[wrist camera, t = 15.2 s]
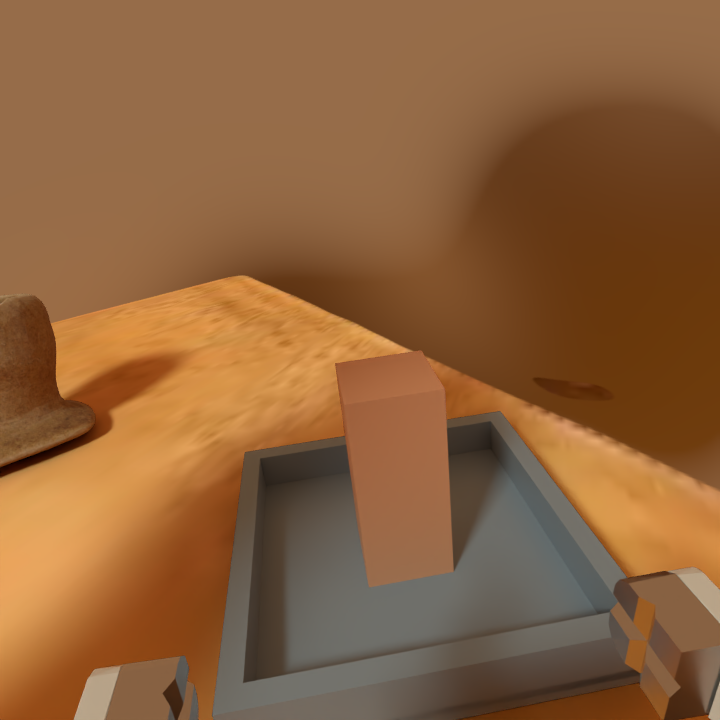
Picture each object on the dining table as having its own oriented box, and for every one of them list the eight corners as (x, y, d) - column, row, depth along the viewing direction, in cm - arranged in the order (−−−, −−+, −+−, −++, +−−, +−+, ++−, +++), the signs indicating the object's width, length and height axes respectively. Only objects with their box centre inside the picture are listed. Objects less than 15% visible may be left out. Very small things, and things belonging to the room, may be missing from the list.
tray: (229, 765, 24) (212, 715, 22) (253, 489, 42) (244, 452, 41) (655, 678, 25) (664, 626, 24) (500, 448, 43) (500, 411, 42)
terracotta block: (368, 587, 31) (344, 404, 26) (358, 528, 35) (334, 363, 30) (453, 571, 31) (444, 388, 26) (431, 515, 36) (421, 350, 31)
